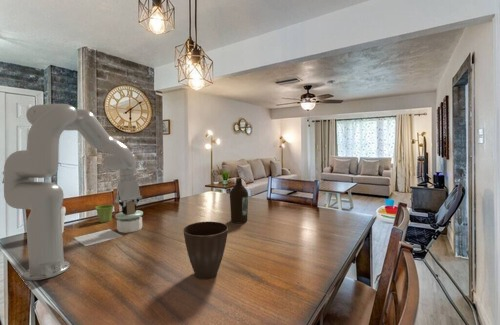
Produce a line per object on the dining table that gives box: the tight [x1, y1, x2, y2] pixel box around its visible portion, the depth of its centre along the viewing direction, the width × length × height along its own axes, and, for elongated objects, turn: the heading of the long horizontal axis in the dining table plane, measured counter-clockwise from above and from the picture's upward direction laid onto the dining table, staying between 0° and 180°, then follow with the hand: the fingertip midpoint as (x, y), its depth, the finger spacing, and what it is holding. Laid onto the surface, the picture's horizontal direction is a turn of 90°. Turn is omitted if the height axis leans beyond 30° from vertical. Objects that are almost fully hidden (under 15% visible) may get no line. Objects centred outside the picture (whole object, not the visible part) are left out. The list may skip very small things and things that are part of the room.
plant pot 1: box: [95, 204, 115, 224], centre depth 150 cm, size 9×9×9 cm
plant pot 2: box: [182, 221, 229, 280], centre depth 88 cm, size 15×15×16 cm
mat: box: [73, 228, 123, 247], centre depth 123 cm, size 16×16×1 cm
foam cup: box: [61, 206, 66, 234], centre depth 127 cm, size 10×9×13 cm
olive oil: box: [229, 177, 249, 224], centre depth 148 cm, size 11×11×25 cm
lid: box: [115, 200, 144, 220], centre depth 133 cm, size 13×13×7 cm
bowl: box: [116, 216, 143, 234], centre depth 134 cm, size 11×11×6 cm
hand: (129, 212), depth 133 cm, fingers closed on lid, 4 cm apart
